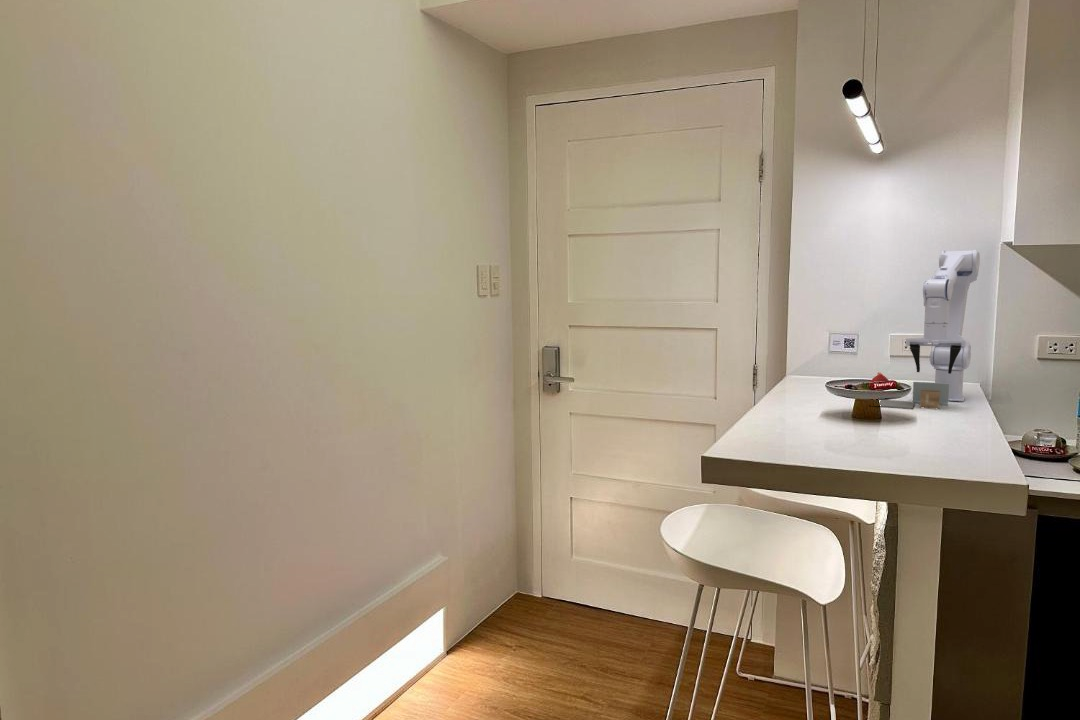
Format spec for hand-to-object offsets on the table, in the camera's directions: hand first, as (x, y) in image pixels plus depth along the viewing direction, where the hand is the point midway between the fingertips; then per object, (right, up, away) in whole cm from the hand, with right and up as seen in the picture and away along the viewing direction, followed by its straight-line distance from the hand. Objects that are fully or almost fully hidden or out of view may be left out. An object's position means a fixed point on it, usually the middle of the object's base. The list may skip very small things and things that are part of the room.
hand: (933, 372), depth 208 cm
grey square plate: (-8, -9, +7) cm, 14 cm away
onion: (-7, -8, +17) cm, 20 cm away
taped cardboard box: (0, -10, +3) cm, 10 cm away
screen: (+3, -9, +8) cm, 12 cm away
